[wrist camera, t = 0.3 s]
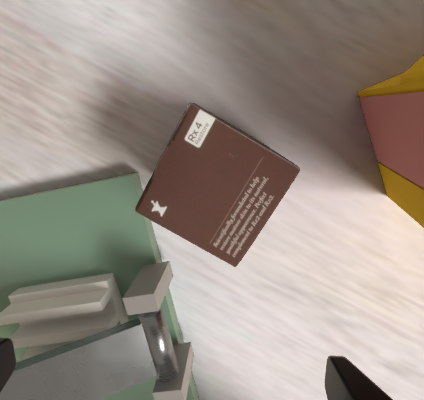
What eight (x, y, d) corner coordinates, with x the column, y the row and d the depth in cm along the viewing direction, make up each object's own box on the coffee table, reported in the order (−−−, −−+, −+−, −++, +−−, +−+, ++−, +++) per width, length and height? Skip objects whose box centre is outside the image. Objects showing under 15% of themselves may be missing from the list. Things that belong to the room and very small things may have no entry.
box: (234, 224, 22) (235, 271, 14) (164, 184, 21) (130, 212, 14) (279, 154, 20) (305, 169, 13) (205, 109, 20) (189, 99, 13)
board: (212, 406, 26) (206, 478, 21) (5, 426, 28) (-47, 495, 23) (150, 169, 21) (122, 184, 16) (-95, 219, 23) (-191, 246, 18)
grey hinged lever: (177, 359, 21) (182, 379, 19) (-84, 468, 17) (-108, 506, 15) (160, 299, 20) (164, 314, 18) (-124, 400, 16) (-155, 433, 14)
